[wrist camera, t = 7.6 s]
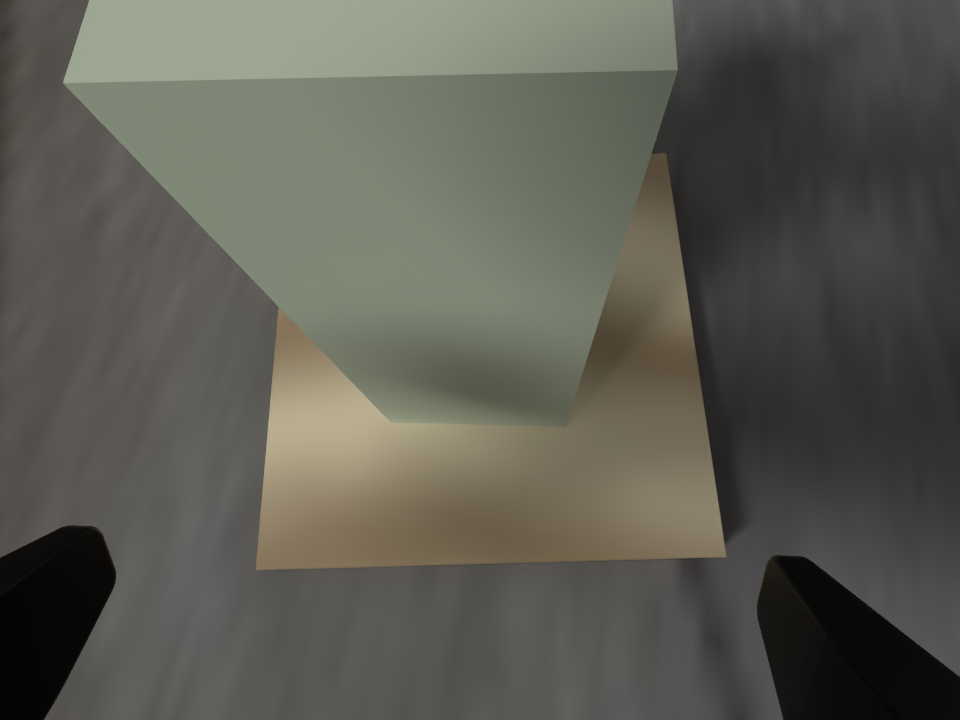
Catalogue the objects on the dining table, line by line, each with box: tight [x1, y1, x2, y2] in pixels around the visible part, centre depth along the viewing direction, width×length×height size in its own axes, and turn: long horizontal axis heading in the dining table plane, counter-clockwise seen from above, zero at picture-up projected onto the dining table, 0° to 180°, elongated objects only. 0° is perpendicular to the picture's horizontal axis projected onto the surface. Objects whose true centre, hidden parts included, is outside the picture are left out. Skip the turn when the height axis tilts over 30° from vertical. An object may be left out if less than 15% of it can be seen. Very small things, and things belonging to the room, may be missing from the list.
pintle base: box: [256, 153, 726, 570], centre depth 16 cm, size 12×12×5 cm
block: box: [63, 0, 678, 427], centre depth 11 cm, size 5×5×12 cm
